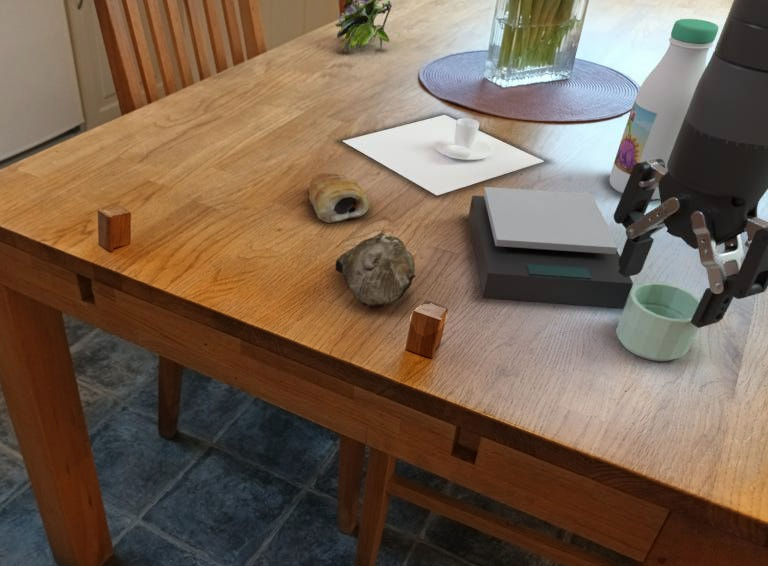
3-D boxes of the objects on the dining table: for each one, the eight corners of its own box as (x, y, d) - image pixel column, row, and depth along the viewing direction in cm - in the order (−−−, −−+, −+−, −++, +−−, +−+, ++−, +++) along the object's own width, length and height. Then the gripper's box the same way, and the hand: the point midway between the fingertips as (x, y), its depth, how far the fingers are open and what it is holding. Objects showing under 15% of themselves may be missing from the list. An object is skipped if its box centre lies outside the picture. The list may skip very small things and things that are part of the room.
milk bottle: (672, 181, 95) (734, 19, 82) (669, 206, 89) (736, 36, 77) (610, 170, 97) (662, 10, 84) (604, 193, 92) (658, 26, 79)
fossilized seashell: (431, 296, 68) (415, 257, 77) (400, 239, 66) (387, 205, 74) (360, 331, 70) (353, 289, 79) (328, 278, 68) (324, 240, 76)
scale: (587, 226, 85) (598, 190, 82) (623, 308, 72) (638, 269, 69) (467, 218, 86) (474, 182, 83) (482, 298, 73) (491, 259, 70)
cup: (673, 325, 70) (692, 284, 67) (695, 366, 65) (716, 324, 62) (607, 320, 70) (622, 279, 67) (623, 361, 65) (641, 318, 62)
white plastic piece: (458, 169, 96) (463, 139, 94) (418, 148, 101) (422, 119, 99) (504, 155, 100) (510, 126, 98) (463, 135, 105) (468, 108, 103)
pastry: (297, 190, 91) (298, 162, 88) (347, 185, 92) (349, 157, 90) (320, 226, 84) (322, 196, 81) (374, 219, 85) (377, 189, 83)
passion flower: (347, 70, 144) (360, 9, 144) (396, 69, 139) (409, 7, 138) (320, 47, 135) (333, -18, 134) (371, 45, 129) (385, -22, 128)
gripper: (862, 150, 51) (760, 333, 61) (700, 85, 61) (636, 251, 71) (789, 166, 48) (695, 353, 58) (633, 95, 58) (576, 266, 68)
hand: (663, 297), depth 65 cm, fingers open, 8 cm apart
